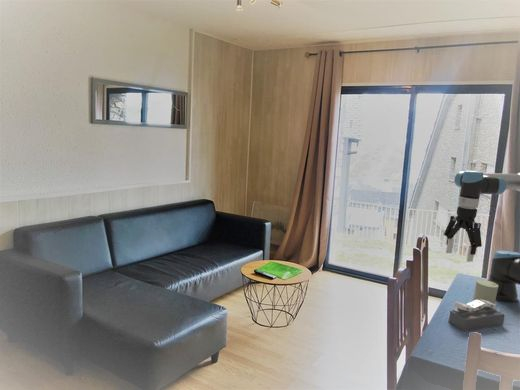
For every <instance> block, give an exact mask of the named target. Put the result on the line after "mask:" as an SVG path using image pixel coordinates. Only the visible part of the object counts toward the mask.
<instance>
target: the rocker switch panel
mask: <svg viewBox="0 0 520 390" xmlns="http://www.w3.org/2000/svg"><path fill="white" fill-rule="evenodd" d="M504 320H505V313H503V312H501V311H499V310H497V309H494V308H490V307H486V306H485V307H484V308H481V309H479V310H477V311H473V310H472V312H470V311H465V310H461V309H460V308H458V307H457V308H453V309H452V310H450V311H449V318H448V322H449V323H450V324H452V325H453V326H455V327H456V328H458V329H460V330H461V329H462V330H461V331H463V330H464V331H463V332H466V331H465V330H468V331H473V330H480V329H487V328H493V327H498V326H499V327H500V326H501V327H502V326H503V325H504Z"/></svg>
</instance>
